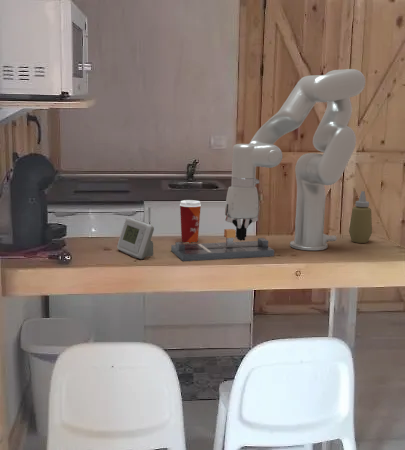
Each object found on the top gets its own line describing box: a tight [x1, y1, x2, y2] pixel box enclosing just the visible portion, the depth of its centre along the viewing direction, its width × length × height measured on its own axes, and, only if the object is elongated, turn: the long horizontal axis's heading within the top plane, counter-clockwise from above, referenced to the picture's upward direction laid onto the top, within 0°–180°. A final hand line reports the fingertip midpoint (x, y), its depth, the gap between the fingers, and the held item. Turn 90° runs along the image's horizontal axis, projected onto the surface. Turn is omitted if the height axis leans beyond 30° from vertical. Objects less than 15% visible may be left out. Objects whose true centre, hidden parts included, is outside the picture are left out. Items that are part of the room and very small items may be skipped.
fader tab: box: [223, 228, 237, 247], centre depth 212 cm, size 3×2×5 cm
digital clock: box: [116, 217, 155, 260], centre depth 208 cm, size 16×9×11 cm, turn 22°
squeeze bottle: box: [348, 190, 373, 244], centre depth 233 cm, size 8×8×18 cm
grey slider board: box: [170, 237, 275, 262], centre depth 211 cm, size 30×14×4 cm, turn 107°
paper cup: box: [179, 199, 202, 244], centre depth 228 cm, size 8×8×14 cm
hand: (240, 239), depth 213 cm, fingers closed
